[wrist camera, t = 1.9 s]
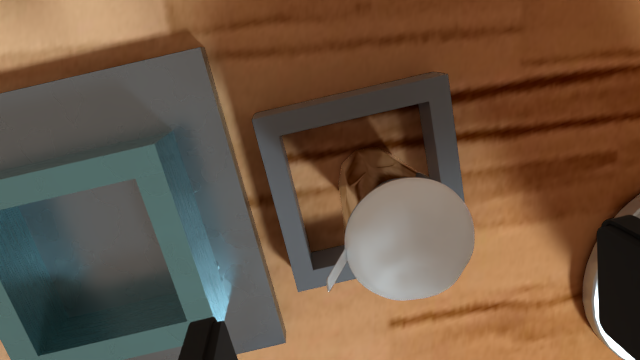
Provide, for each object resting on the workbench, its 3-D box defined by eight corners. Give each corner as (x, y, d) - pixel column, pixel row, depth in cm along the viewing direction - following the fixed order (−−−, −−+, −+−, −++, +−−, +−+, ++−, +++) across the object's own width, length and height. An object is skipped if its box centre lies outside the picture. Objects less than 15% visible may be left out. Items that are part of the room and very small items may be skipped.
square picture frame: (433, 71, 22) (448, 74, 20) (456, 235, 24) (470, 251, 22) (254, 113, 22) (251, 119, 20) (297, 272, 24) (298, 292, 22)
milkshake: (303, 144, 22) (315, 217, 13) (408, 126, 22) (497, 186, 13) (317, 226, 24) (337, 348, 14) (415, 209, 24) (502, 319, 14)
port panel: (204, 47, 21) (185, 47, 17) (286, 331, 25) (285, 382, 21) (-89, 115, 21) (-176, 130, 17) (48, 386, 25) (4, 447, 21)
